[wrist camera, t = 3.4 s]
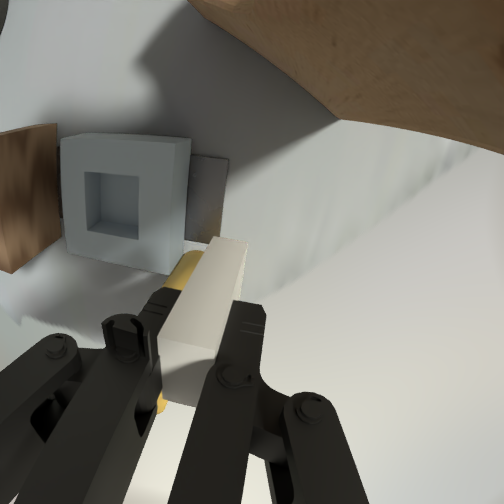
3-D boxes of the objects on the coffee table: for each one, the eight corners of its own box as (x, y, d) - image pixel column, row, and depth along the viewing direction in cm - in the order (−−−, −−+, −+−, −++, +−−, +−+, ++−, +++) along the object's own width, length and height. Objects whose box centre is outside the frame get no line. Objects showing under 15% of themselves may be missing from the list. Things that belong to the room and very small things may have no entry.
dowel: (179, 247, 30) (99, 364, 15) (220, 254, 29) (163, 384, 15) (178, 281, 31) (111, 403, 17) (216, 289, 31) (167, 421, 17)
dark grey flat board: (57, 146, 26) (56, 146, 26) (228, 159, 25) (228, 160, 25) (60, 216, 30) (59, 217, 29) (218, 244, 29) (218, 245, 29)
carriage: (86, 132, 25) (60, 138, 21) (192, 138, 24) (175, 143, 21) (88, 236, 30) (67, 252, 26) (183, 254, 29) (169, 275, 26)
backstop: (38, 124, 25) (-23, 138, 17) (56, 123, 25) (-6, 137, 17) (44, 233, 31) (-5, 267, 23) (61, 236, 31) (11, 274, 23)
